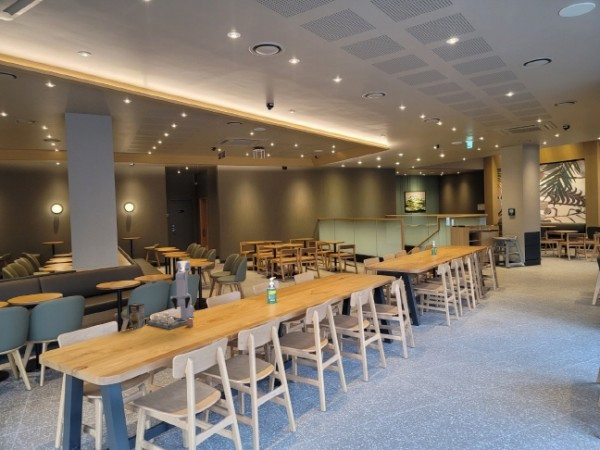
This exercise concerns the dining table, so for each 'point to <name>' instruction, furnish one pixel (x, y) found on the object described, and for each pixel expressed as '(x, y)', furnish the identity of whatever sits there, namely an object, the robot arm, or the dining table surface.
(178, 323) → the egg tray
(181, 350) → the dining table surface
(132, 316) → the coffee box
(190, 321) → the terracotta egg
